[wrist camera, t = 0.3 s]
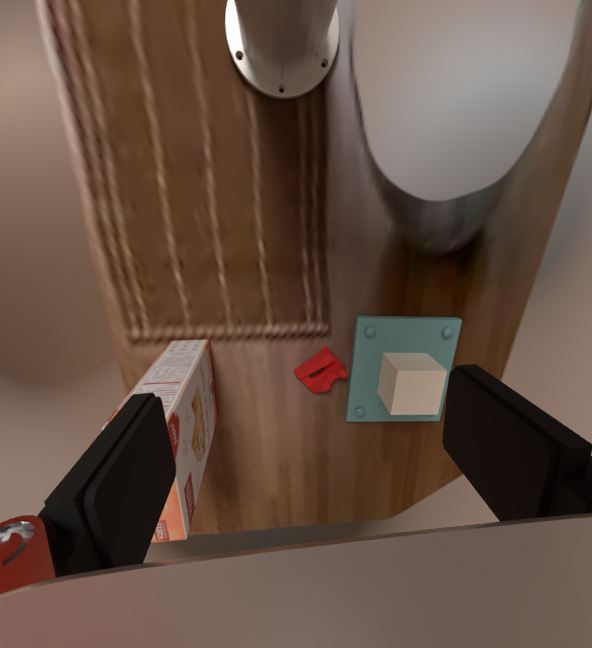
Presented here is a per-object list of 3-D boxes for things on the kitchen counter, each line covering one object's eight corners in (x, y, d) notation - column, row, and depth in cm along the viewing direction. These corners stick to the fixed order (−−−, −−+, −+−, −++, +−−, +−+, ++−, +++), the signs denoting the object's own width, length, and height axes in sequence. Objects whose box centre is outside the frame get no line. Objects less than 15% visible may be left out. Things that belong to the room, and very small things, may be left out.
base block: (382, 352, 48) (397, 370, 42) (426, 353, 48) (447, 371, 43) (377, 392, 50) (390, 414, 45) (419, 392, 51) (437, 414, 45)
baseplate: (356, 315, 47) (359, 319, 45) (457, 317, 48) (464, 321, 47) (344, 417, 53) (347, 423, 51) (435, 416, 54) (441, 423, 52)
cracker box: (220, 417, 51) (188, 543, 31) (182, 419, 51) (125, 548, 31) (212, 337, 46) (168, 426, 27) (170, 338, 46) (95, 430, 26)
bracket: (326, 345, 49) (329, 353, 46) (344, 366, 50) (348, 375, 47) (293, 369, 50) (295, 378, 47) (312, 389, 51) (314, 399, 48)
